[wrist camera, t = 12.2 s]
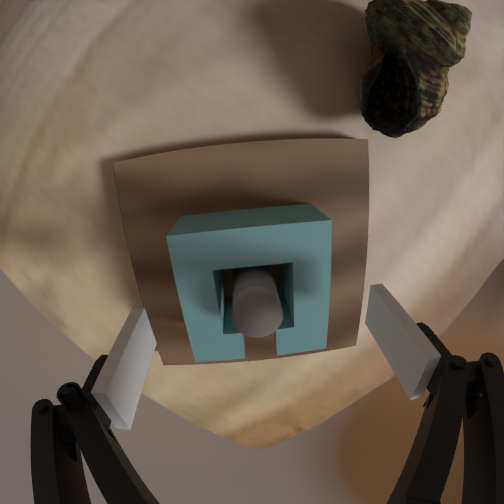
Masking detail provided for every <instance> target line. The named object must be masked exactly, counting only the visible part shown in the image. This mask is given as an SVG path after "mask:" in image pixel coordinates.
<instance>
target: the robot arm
mask: <svg viewBox="0 0 504 504" xmlns="http://www.w3.org/2000/svg"><path fill="white" fill-rule="evenodd" d="M365 324H366V325H367V327H368V329H369V330H370V332H371V333H372V335H373V337H374V338H375V340H376V342H377V343H378V345H379V347H380V348H381V350H382V352H383V353H384V355H385V357H386V359H387V360H388V362H389V364H390V365H391V367H392V369H393V371H394V372H395V374H396V376H397V377H398V379H399V381H400V383H401V385H402V386H403V388H404V390H405V392H406V393H407V395H408V397H409V399H410V400H413V399H415V398H418V397H421V396H423V394H424V392H425V390H426V388H427V389H428V391H429V392H430V394H429V396H428V398H427V400H426V402H425V403H424V405H423V407H425V409H424V413H423V416H422V419H421V422H420V425H419V428H418V431H417V434H416V437H415V440H414V443H413V445H412V448H411V451H410V453H409V456H408V458H407V461H406V463H405V466H404V468H403V471H402V473H401V475H400V477H399V479H398V482H397V484H396V486H395V488H394V490H393V492H392V494H391V496H390V498H389V500H388V502H387V504H441V503H440V498H441V495H442V492H443V490H444V487H445V484H446V481H447V478H448V475H449V472H450V468H451V465H452V461H453V458H454V454H455V450H456V446H457V442H458V437H459V432H460V427H461V422H462V417H463V431H464V482H463V494H462V504H504V372H503V368H502V365H501V362H500V360H499V358H498V357H497V356H496V355H495V354H492V353H488V352H487V353H484V354H482V355H481V357H480V359H479V361H472V362H467V361H466V360H465V359H464V358H463V357H461V356H457V355H452V354H451V353H450V352H449V351H448V349H447V348H446V347H445V346H444V345H443V343H442V342H441V341H440V340H439V339H438V337H437V336H436V335H435V334H434V332H433V331H432V330H431V329H430V328H429V327H428V326H427V325H425V324H424V323H422V322H420V323H415V322H414V321H413V319H412V318H411V317H410V316H409V315H408V313H407V312H406V311H405V310H404V309H403V307H402V306H401V305H400V304H399V303H398V302H397V300H396V299H395V298H394V297H393V296H392V295H391V293H390V292H389V291H388V290H387V289H386V288H385V287H384V285H383V284H376V285H371V286H370V294H369V301H368V308H367V314H366V321H365ZM156 345H157V343H156V340H155V337H154V334H153V331H152V328H151V325H150V322H149V319H148V316H147V313H146V310H145V307H139V308H133V309H132V311H131V312H130V314H129V316H128V318H127V320H126V322H125V324H124V326H123V327H122V329H121V331H120V333H119V335H118V337H117V339H116V341H115V343H114V345H113V347H112V349H111V351H110V353H109V355H101V356H100V357H99V358H98V359H97V360H96V362H95V364H94V365H93V367H92V370H91V372H90V373H89V374H90V375H88V378H87V379H86V382H85V383H84V386H83V388H82V389H81V387H80V386H79V385H78V384H77V383H75V382H69V383H66V384H64V385H62V386H61V387H60V388H59V390H58V392H57V398H58V400H59V401H60V403H61V404H62V405H55V406H54V405H53V404H52V402H51V401H50V400H48V399H41V400H39V401H38V402H36V403H35V404H34V406H33V408H32V418H31V473H32V486H33V495H34V503H35V504H91V501H90V497H89V493H88V489H87V484H86V480H85V474H84V469H83V463H82V457H81V452H82V454H83V456H84V459H85V461H86V463H87V465H88V467H89V469H90V472H91V473H92V476H93V478H94V480H95V482H96V484H97V485H98V487H99V489H100V491H101V493H102V495H103V496H104V498H105V500H106V502H107V504H159V502H158V501H157V500H156V498H155V497H154V496H153V495H152V493H151V492H150V490H149V489H148V488H147V486H146V485H145V484H144V482H143V481H142V479H141V478H140V476H139V475H138V473H137V472H136V470H135V469H134V467H133V466H132V464H131V463H130V461H129V459H128V458H127V456H126V454H125V453H124V451H123V449H122V448H121V446H120V444H119V443H118V441H117V439H116V437H115V436H114V434H113V432H112V430H111V429H110V428H109V427H110V424H111V422H112V423H113V424H114V425H115V427H116V428H119V429H126V430H130V429H131V426H132V422H133V418H134V415H135V411H136V408H137V405H138V401H139V398H140V394H141V391H142V388H143V385H144V381H145V378H146V375H147V372H148V369H149V366H150V363H151V360H152V357H153V353H154V350H155V348H156ZM80 449H81V451H80Z"/></svg>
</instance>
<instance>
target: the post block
mask: <svg viewBox="0 0 504 504" xmlns="http://www.w3.org/2000/svg"><path fill="white" fill-rule="evenodd" d="M113 165H114V173H115V180H116V186H117V192H118V198H119V204H120V210H121V215H122V220H123V225H124V230H125V235H126V239H127V244H128V248H129V253H130V257H131V261H132V265H133V269H134V273H135V277H136V281H137V284H138V288H139V292H140V295H141V299H142V302H143V305H144V307H145V310H146V313H147V316H148V319H149V322H150V325H151V328H152V331H153V334H154V337H155V340H156V343H157V345H156V346H157V349H158V351H159V354H160V357H161V360H162V362H163V365H191V364H214V363H230V362H243V361H254V360H264V359H273V358H282V357H290V356H297V355H304V354H311V353H317V352H323V351H329V350H335V349H341V348H346V347H351V346H356V342H357V335H358V329H359V322H360V315H361V307H362V299H363V290H364V280H365V270H366V257H367V242H368V220H369V155H368V139H337V138H322V139H285V140H267V141H253V142H241V143H231V144H221V145H213V146H204V147H197V148H190V149H183V150H176V151H170V152H164V153H158V154H153V155H148V156H142V157H137V158H132V159H128V160H123V161H118V162H114V163H113ZM301 204H312V205H313V206H315V207H316V208H317V209H318V210H320V211H321V212H322V213H323V214H325V215H326V216H327V217H328V218H330V219H331V220H332V243H331V281H330V302H329V318H328V332H327V344H326V348H325V349H319V350H313V351H306V352H299V353H292V354H284V355H277V352H276V347H275V341H274V336H273V332H275V331H276V330H277V329H278V328H279V326H280V325H281V323H282V320H283V311H282V307H281V304H280V300H279V296H278V294H280V293H284V287H283V264H272V265H262V266H252V267H242V268H231V269H221V273H222V280H223V287H224V294H225V299H230V298H233V317H232V318H233V323H234V326H235V327H236V329H237V330H238V331H239V332H241V333H242V334H244V344H245V359H235V360H221V361H203V362H195V358H194V355H193V351H192V347H191V344H190V340H189V336H188V332H187V329H186V325H185V321H184V317H183V313H182V308H181V304H180V300H179V296H178V291H177V287H176V282H175V278H174V273H173V268H172V263H171V259H170V253H169V248H168V243H167V238H166V236H167V234H168V233H169V232H170V230H171V229H172V228H173V227H174V225H175V224H176V223H177V221H178V220H179V219H180V217H181V216H188V215H196V214H205V213H214V212H223V211H233V210H243V209H253V208H264V207H276V206H288V205H301Z"/></svg>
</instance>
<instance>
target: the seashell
mask: <svg viewBox="0 0 504 504" xmlns="http://www.w3.org/2000/svg"><path fill="white" fill-rule="evenodd" d="M365 14H366V17H365V19H366V24H367V30H368V35H369V38H370V41H371V54H372V56H373V60H372V63H371V65H370V67H369V68H368V70H367V71H366V72H365V74H364V75H363V76H362V78H361V81H360V84H359V88H358V97H359V100H360V103H361V111H362V116H363V117H364V119H365V121H366V122H367V123H368V124H369V126H370V127H372V129H373V130H377V131H380V132H381V133H382V134H384V135H386V136H388V137H393V138H397V137H400V136H402V135H404V134H406V133H410V132H412V131H415V130H418V129H419V128H421V127H422V126H424V125H425V124H426V122H427V121H428V120H430V119H431V118H433V117H435V116H436V115H438V113H439V112H440V111H441V106H442V102H443V100H444V97H445V95H446V94H447V89H448V86H449V83H448V77H447V74H448V71H449V68H450V67H452V66H453V65H455V64H457V63H459V62H460V60H461V59H462V58H464V56H465V50H466V46H465V42H466V36H467V35H468V33H469V31H470V22H471V19H472V12H471V11H470V10H469V9H468V8H466V7H463V6H460V5H458V4H452V3H451V4H449V3H446V2H442V1H439V0H427V1H422V0H373V1H372V2H369V3H368V7H367V9H366V10H365ZM399 64H400V65H399ZM448 67H449V68H448Z"/></svg>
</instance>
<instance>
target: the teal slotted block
mask: <svg viewBox="0 0 504 504" xmlns="http://www.w3.org/2000/svg"><path fill="white" fill-rule="evenodd" d="M166 238H167V243H168V248H169V253H170V259H171V263H172V268H173V273H174V278H175V282H176V287H177V291H178V296H179V300H180V304H181V308H182V313H183V317H184V321H185V325H186V329H187V332H188V336H189V340H190V344H191V347H192V351H193V355H194V358H195V362H203V361H221V360H235V359H245V344H244V334H242V333H241V332H239V331H238V330H237V329H236V327H235V326H234V323H233V318H232V317H233V298H230V299H225V294H224V287H223V280H222V273H221V269H231V268H242V267H252V266H262V265H272V264H283V287H284V293H280V294H278V296H279V300H280V304H281V307H282V311H283V320H282V323H281V325H280V326H279V328H278V329H277V330H276V331H275V332H273V336H274V341H275V347H276V352H277V355H284V354H292V353H299V352H306V351H313V350H319V349H325V348H326V344H327V332H328V318H329V302H330V281H331V243H332V220H331V219H330V218H328V217H327V216H326V215H325V214H323V213H322V212H321V211H320V210H318V209H317V208H316V207H315V206H313V205H312V204H301V205H288V206H276V207H264V208H253V209H243V210H233V211H223V212H214V213H205V214H196V215H188V216H181V217H180V219H179V220H178V221H177V223H176V224H175V225H174V227H173V228H172V229H171V230H170V232H169V233H168V234H167V236H166Z"/></svg>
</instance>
